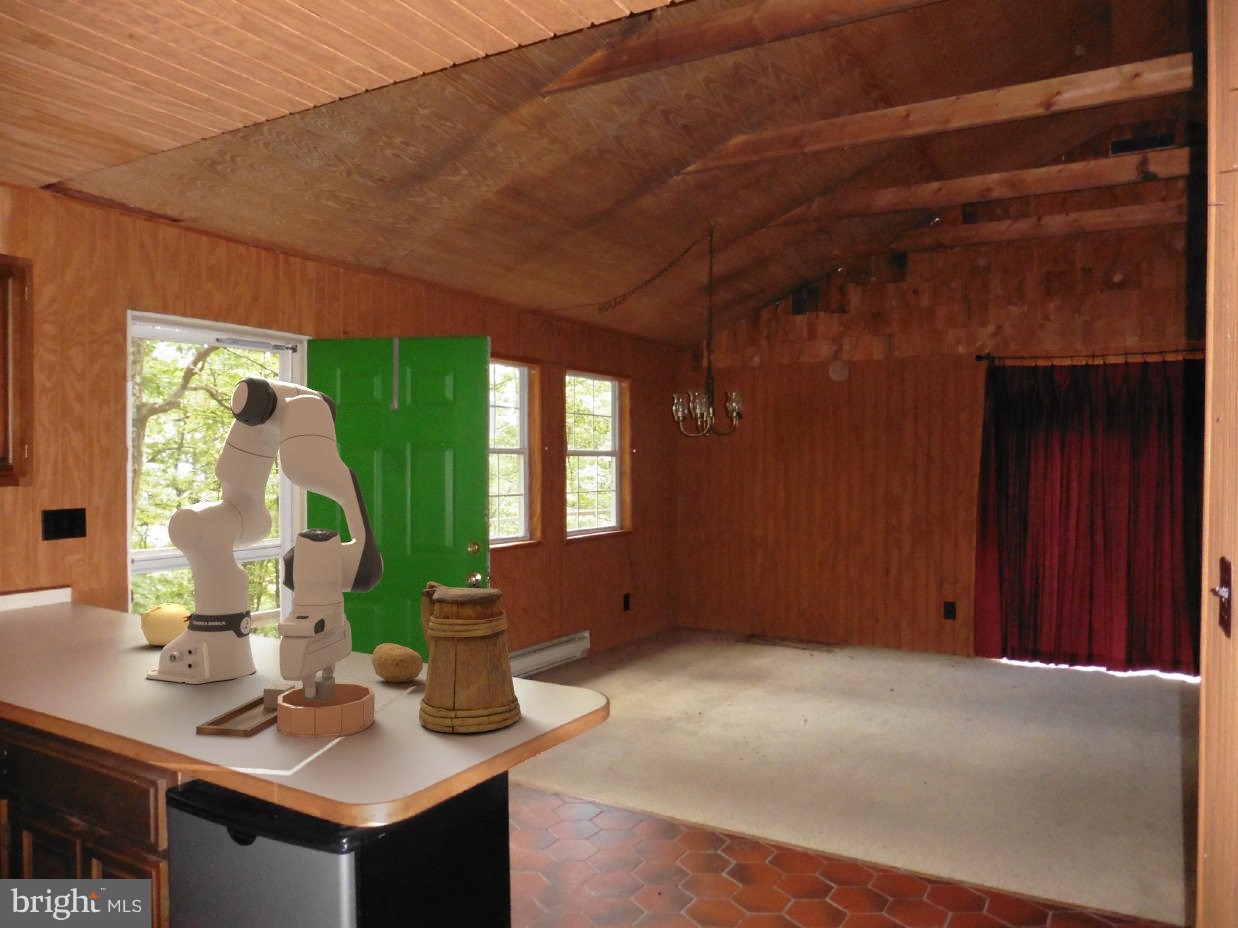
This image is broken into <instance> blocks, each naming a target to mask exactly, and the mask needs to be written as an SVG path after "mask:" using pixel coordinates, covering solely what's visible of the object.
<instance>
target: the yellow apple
mask: <svg viewBox="0 0 1238 928" xmlns="http://www.w3.org/2000/svg"><path fill="white" fill-rule="evenodd" d="M191 614H192V613H191V612H190V611H189V610H188V607H187V605H186V606H185V605H183V604H181V603H171V602H170V603H168V602H167V603H161V604H159V605H157V606H155V607H153V608H150V609H148V610H145V611H144V612H142V613H141V614H140V621H141V622H140V629H141V630H142V633H143V635H144V638H145V640H146V641H147V643H148V644H149V645H150V646H166V645H167V644H169V643H170V642H171V641H173V640H174V639H175V638H176V637H178V636H179V635H180V634H182V633H183V632H184V631H185V630H187V629H188V628H187V627H188V624H189V621H187V622H183V621H184V620H186V619H187V618H183V617H186V616H190V615H191Z"/></svg>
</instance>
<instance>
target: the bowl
mask: <svg viewBox="0 0 1238 928" xmlns="http://www.w3.org/2000/svg"><path fill="white" fill-rule="evenodd" d="M375 697H376V696H375V690H374V689H373V687H371V686H369V685H365V684H361V683H357V682H356V683H354V682H353V683H351V682H335V696H334V697H333V698H331V699H329V700H327V701H326V702H322V701H303V686H300V687H295V689H291V690H289V691H287V692H285V693H283V694H281V695H279V696H278V702H277V722H276V726H277V727H276V728H277V730H278V731H279V732H280V733H282V734H286V735H289V736H293V737H301V738H319V737H330V736H336V735H337V737H336V739H339V738H344V737H348V736H352V735H355V734H358V733H360V732H363V731H366V730H367V729H368V728H370V727H371V726H372V725H373V724H374V719H375V701H376V700H375Z"/></svg>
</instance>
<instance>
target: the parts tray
mask: <svg viewBox="0 0 1238 928" xmlns="http://www.w3.org/2000/svg"><path fill="white" fill-rule="evenodd" d="M275 723H277V708H267V707H264V693H263V694H261V695H259V696H257V697H255V698H252V699H250V700H248V701H246V702H243V703H242V704H240V705H239V706H236V707H234V708H232V709H230V710H228V711H226V712H224V713H221V714H220V715H218V716H216V717H213V718H211V719H210V720H208V721H205V722H203V723H201V724H199V725H197V726H196V727H195V730H196V731H195V734H196V735H206V736H207V735H208V736H223V737H224V736H225V737H238V738H239V737H240V738H250V737H252V736H254V735H255V734H257V733H259V732H261V731H262V730H265V729H266V728H268V727H270V726H272V725H273V724H275Z"/></svg>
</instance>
